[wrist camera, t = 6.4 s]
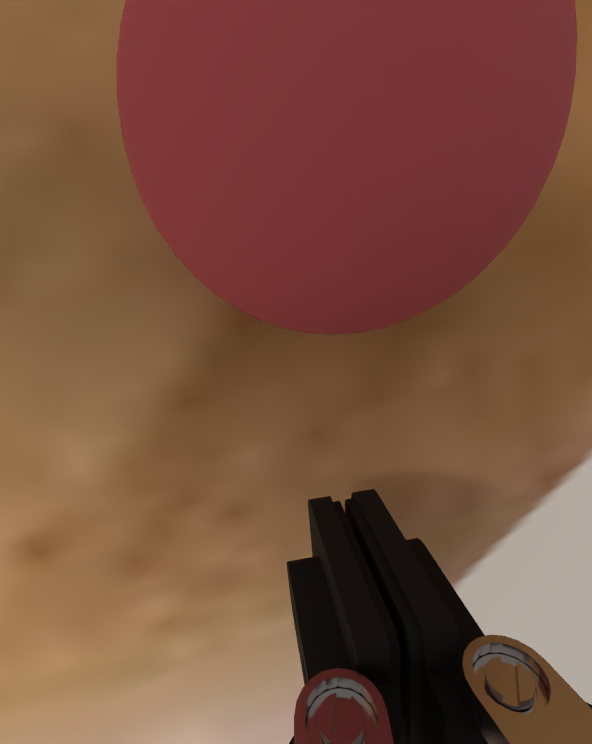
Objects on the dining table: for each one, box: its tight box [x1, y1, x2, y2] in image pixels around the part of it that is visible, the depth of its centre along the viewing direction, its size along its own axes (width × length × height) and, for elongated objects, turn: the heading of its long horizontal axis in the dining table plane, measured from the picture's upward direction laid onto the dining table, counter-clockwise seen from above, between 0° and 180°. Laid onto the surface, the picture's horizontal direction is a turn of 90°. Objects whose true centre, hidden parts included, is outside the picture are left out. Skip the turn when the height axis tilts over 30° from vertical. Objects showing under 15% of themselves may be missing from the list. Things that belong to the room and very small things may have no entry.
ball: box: [117, 0, 577, 334], centre depth 6 cm, size 6×6×6 cm
